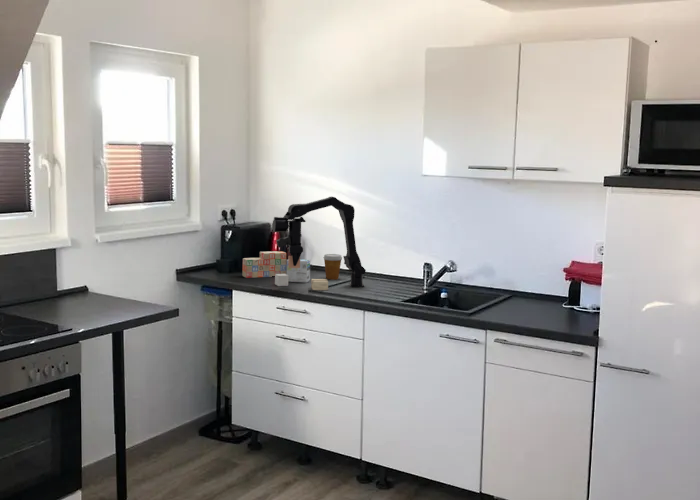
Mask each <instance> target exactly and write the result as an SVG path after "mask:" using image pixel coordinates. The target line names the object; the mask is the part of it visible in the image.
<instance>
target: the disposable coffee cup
mask: <svg viewBox="0 0 700 500" xmlns="http://www.w3.org/2000/svg"><path fill="white" fill-rule="evenodd" d="M342 258H343V257H342V255H341V254H336V253H326V254H324V255H323V260H324V272H325V279H327V280H330V281H331V280H332V281H335V280H336V281H337V280H339V277H340V272H341V271H340V269H341V265H342Z"/></svg>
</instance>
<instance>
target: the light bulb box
mask: <svg viewBox="0 0 700 500" xmlns="http://www.w3.org/2000/svg"><path fill="white" fill-rule="evenodd" d="M286 275H289V276H288V282H289V283H290V282H291V283H292V282H294V283H308V282H309V281H311V259H307V258H306V259H303V258H300V268H289V267H288V259H286Z"/></svg>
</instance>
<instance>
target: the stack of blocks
mask: <svg viewBox="0 0 700 500" xmlns="http://www.w3.org/2000/svg"><path fill="white" fill-rule="evenodd" d="M241 268H242V271H241V272H242V277H244V278H246V279H250V278H271V277H272V276H275V274H286V273H287V252H285V251H276V250H273V251H272V250H271V251H259V257H244V258H242V267H241ZM272 278H273V277H272Z"/></svg>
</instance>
